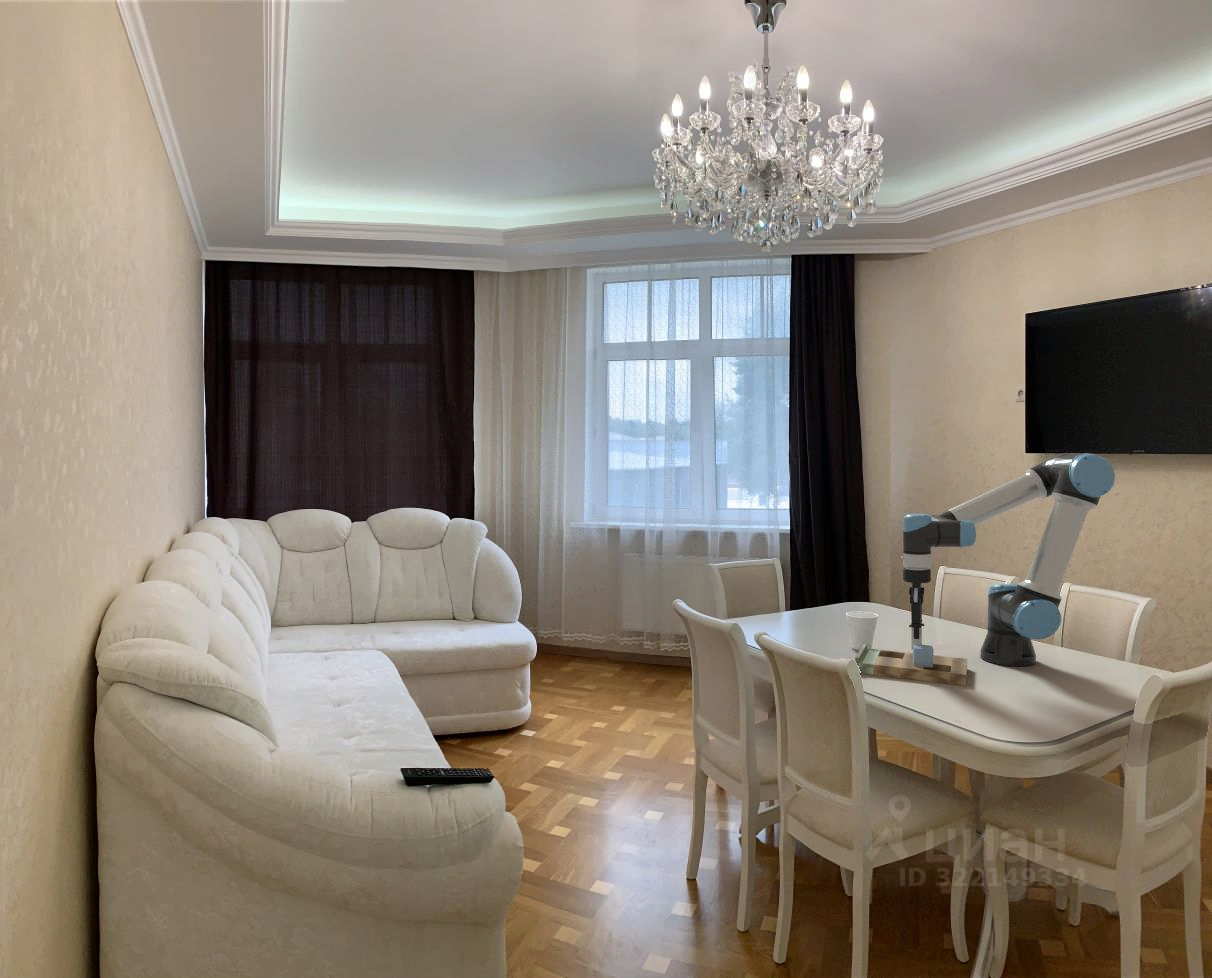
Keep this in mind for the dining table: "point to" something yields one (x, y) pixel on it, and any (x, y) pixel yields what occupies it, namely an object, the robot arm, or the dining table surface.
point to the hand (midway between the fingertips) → (916, 649)
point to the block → (923, 655)
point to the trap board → (911, 666)
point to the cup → (861, 628)
